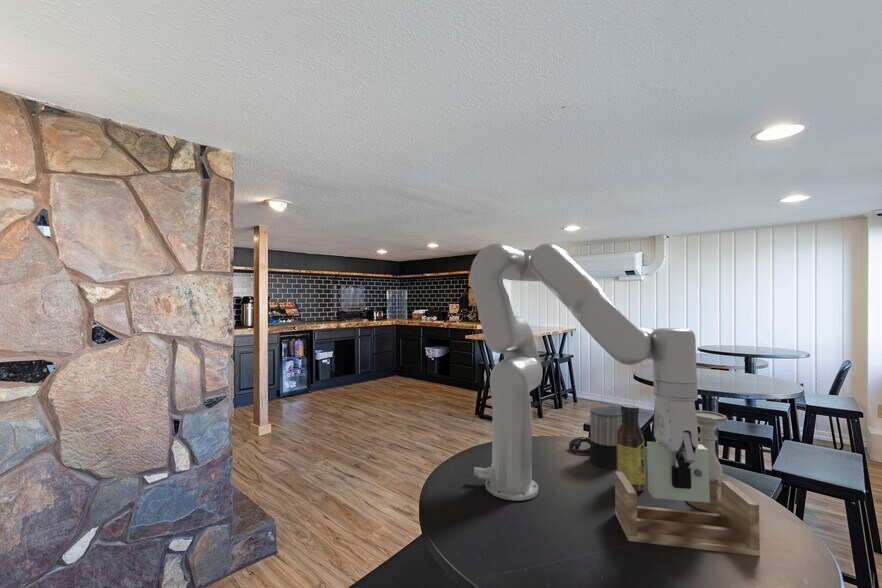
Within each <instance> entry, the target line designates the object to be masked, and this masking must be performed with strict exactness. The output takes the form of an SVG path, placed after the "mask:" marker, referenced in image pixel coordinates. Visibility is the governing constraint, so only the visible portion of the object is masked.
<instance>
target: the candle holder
mask: <svg viewBox="0 0 882 588" xmlns="http://www.w3.org/2000/svg"><path fill="white" fill-rule="evenodd" d="M695 410H696V409H695ZM696 418H697V426H698V427H699V429H700V432H698V439H699V440H700V442H699V444H701V445H702V446H704V447H705V448H707V449H708V458H709V489H710V503H709V502H696V501H686V502H687V503H688V504H689V505H690V506H693V507H694V508H696V509H698V510H701V511H703V512H706V513H715V514H721V493H720V492H718V490H719V488H721V481H719V479H720V478H721V477H722V476H723V467H722V465H721V463H720V461H719V459H718V456H717V454H716V442H717V441H718V439H719V438H718V437H717V435H716V433H715V431H716V430H717V428H719V426H720V425H719V424H726V423H728V421H729V418H728V417H727V415H724V414H722V413H719V412H715V411H710V410H701V409H700V410H696Z"/></svg>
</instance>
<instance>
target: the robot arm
mask: <svg viewBox="0 0 882 588" xmlns="http://www.w3.org/2000/svg"><path fill="white" fill-rule="evenodd" d="M469 273H470V274H469V278H470V286H471V290H472V294H473V297H474V300H475V304H476V308H477V313H478V317H479V321H480V325H481V329H482V334H483V338H484V341H485V344H486V346H487V348H488V349H489V350H490V351H491V352H493V353H496V354H502V355H503V357H504V358H503V359H502V360H500V361H498V362H497V363H496V364H495V365H494V367H493V368H492V370H491V371H490V376H489V386H490V387H489V388H490V389H489V390H490V394H491V395H490V396H491V403H492V404H491V405H492V407H491V408H492V437H491V438H492V441H491V442H492V443H491V444H492V445H491V448H492V451H491V454H492V455H491V464H490V465H491V466H487V467H486V468H485V467H484V468H483V467H477V466H474V467H473V469H474V470H473V476H477V479H478V480H485V489H486V491H487V492H489V493H490V494H491V495H492V496H495V497H497V498H499V499H503V500H507V501H514V502H515V501H517V502H518V501H519V502H520V501H526V500H530V499H533V498H535V497H536V496H537V495H538V493H539V485H538V483H537V482H536V481H535V480H534V479H532V478H533V477H532V476H533V472H532V471H533V470H532V469H533V467H532V466H533V411H532V404H531V398H530V397H531V395H530V392H532V391H533V390H535V389H536V388H538V386H539V385H540V384H541V382H542V380H543V367H542V362H541V359H540V354H539V351H538V348H537V344H536V340H535V337H534V334H533V331H532V328H531V327H530V325H529V323H528V321H527V320H525V319H524V318H522V317H521V316H519V315H515V314H514V311H513V307H512V303H511V301H510V300H511V299H510V295H509V293H508V291H507V289H506V286H505V285H504V280H508V281H514V282H515V281H518V282H522V281H523V282H541V283H542V284H543V285H545V286H546V288H548V289H549V291H550V292H552V294H553V295H554V296H555V297H556V298H557V299H558V300H559V301H560V302H561V303H562V304H563V305H564V306H565V307H566V308H567V309H568V310H569V311H570V313H571V314H572V315H573V317H574V318H575V319H576V320H577V321H578V323H579V324H580V325H581V326H582V328H583V329H584V330H585V331H586V332H587V333H588V334H589V335H590V336H591V338H593V340H594V341H595V342H597V344H598V345H599V346H601V348H602V349H603V350H604V351H605V352H606V353H607V354H608V355H609V356H611V358H613V359H614V360H615V361H617V363H620V364H623V365H628V366H635V365H638V364H640V363H641V364H642V363H643V362H644V361H646V360H647V361H649V360H650V361H652V367H653V368H652V374H653V375H652V376H653V377H652V379H653V396H654V398H655V399H654V413H653V415H654V416H653V436H654V438H655V440H656V442H659V443H660V444H662V445H663V446H664V447H665V448H666V449H667V450H668V451H670V452H673V464H674V466H672V486H673V487H674V488H684V489H691V463H692V462H694V461H695V458H694V454H695V453H696V452H697V451H698V444H699V437H698V434H699V430H698V424H697V418H696V404H695V402H696V401H698V380H697V379H698V372H697V371H698V370H697V347H696V346H697V344H696V342H697V341H696V340H697V339H696V334H695V332H694V331H693V330H691V329H689V328H681V327H661V328H649V327H644V326H636V325H634V324H633V323H632V322H631V321H630V320H629V319H628V318H627V317H626V316H625V315H624V314H623V313H622V312H621V311H620V310H618V308H617V307H616V306H615V305H614V304H613V303H612V302H611V301H610V299H609V298H607V296H606V294H605V293H604V290H603V288H602V287H601V286H600V284H599V282H597V281H596V280H595V279H594V278H592V276H591V275H589V274H588V273H587V272H586V271H585V270H584V269H583V268H582V267H581V266H580V265H579V264H578V263H576V262H575V261H574V260H573V258H572V257H571V254H570V253H569V252H568V251H566V249H564V248H562V247H560V246H558V245H556V244H554V243H548V242H547V243H542V244H539V245H538V246H537V247H536V246H535V248H534V249H519V248H518V249H517V248H516V247H512V246H511V245H508V244H505V243H499V242H497V243H491V244H488V245H486V246H484V247H483V248H481V249H480V250H479V252H478V253H477V254H476V256H475V257H474V259H473V261H472V264H471V267H470V272H469ZM680 448H683V450H679V449H680ZM678 454H681V455H683V456H680V457H679V459H678Z"/></svg>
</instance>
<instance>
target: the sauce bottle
mask: <svg viewBox="0 0 882 588" xmlns="http://www.w3.org/2000/svg"><path fill="white" fill-rule="evenodd" d="M639 409H640V407H639V406H637V405H635V404H628V403H627V404H626V403H625V404H621V405H620V411H621V412H622V420H621V421H622V425H621V426H620V428H619V429H618V431H617V468H616V471H617V472H623V473H624V475H625V476H626V478H627V479H628V481H629V482H630V484H631V485H632V487H633V488H634V490H635V491H636V493H638V492H642V491H643V490H644V489H645V482H646V473H645V472H646V470H645V469H646V468H645V467H646V465H645V463H646V462H645V459H646V456H645V454H646V453H645V438H644V436H643V432H642V430H641V426H640V425H639V424H640V423H639V413H640V410H639Z"/></svg>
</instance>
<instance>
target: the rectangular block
mask: <svg viewBox="0 0 882 588" xmlns="http://www.w3.org/2000/svg"><path fill="white" fill-rule="evenodd" d="M646 449H647V452H646V453H647V454H646V456H647V486H648V487H647V490H648V493H649V494H650V495H651V497H652V498H653V499H659V500H660V499H661V500H672V501H673V500H674V501H686V502H687V501H696V502H709V503H710V489H709V458H708V449H707V448H705V447H704V446H702V445H701V444H700V443H698V451H697V452H696V453H695V454H694V458H695V461H694V462H692V463H691V489H684V488H674V487H673V486H672V466H674V464H673V452H670V451H668V450H667V449H666V448H665V447H664V446H663V445H662V444H660V443H659V442H658V441H650V440H649V441H646ZM679 450H683V448H680V449H679ZM680 456H683V455H681V454H678V459H679V457H680Z"/></svg>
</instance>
